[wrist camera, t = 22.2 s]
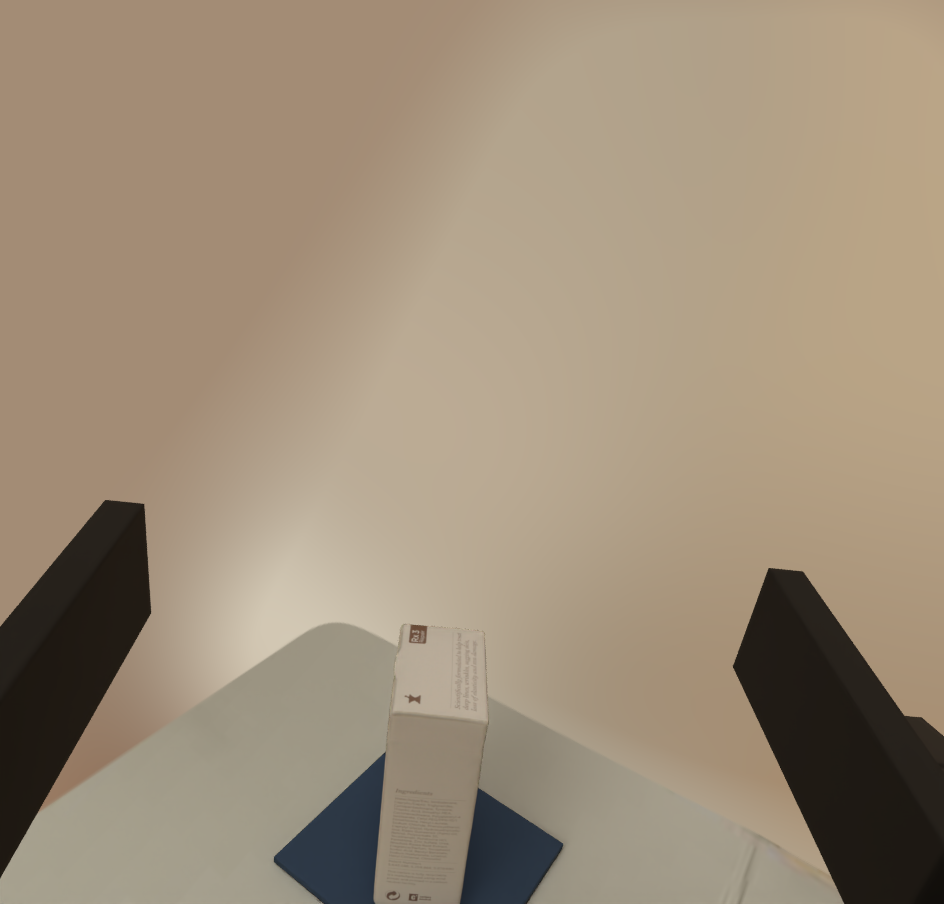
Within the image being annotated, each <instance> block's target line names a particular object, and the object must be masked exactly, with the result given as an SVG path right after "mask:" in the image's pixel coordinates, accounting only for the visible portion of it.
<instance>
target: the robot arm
mask: <svg viewBox="0 0 944 904" xmlns="http://www.w3.org/2000/svg"><path fill="white" fill-rule="evenodd" d="M148 573H149V572H148V557H147V541H146V524H145V509H144V504H140V503H130V502H120V501H109V500H105V501H104V502H103V503H102V505H101V506H100V507H99V508H98V510H97V511H96V512H95V513H94V514H93V516H92V517H91V518H90V519H89V520H88V521H87V523H86V524H85V525H84V526H83V528H82V529H81V530H80V531H79V532H78V533H77V535H76V536H75V537H74V538H73V540H72V541H71V542H70V543H69V544H68V546H67V547H66V548H65V549H64V550H63V552H62V553H61V554H60V555H59V556H58V558H57V559H56V560H55V561H54V562H53V564H52V565H51V566H50V567H49V568H48V570H47V571H46V572H45V573H44V575H43V576H42V577H41V578H40V579H39V581H38V582H37V583H36V584H35V585H34V587H33V588H32V589H31V590H30V591H29V593H28V594H27V595H26V596H25V597H24V599H23V600H22V601H21V602H20V603H19V605H18V606H17V607H16V608H15V609H14V611H13V612H12V613H11V614H10V615H9V617H8V618H7V619H6V620H5V622H4V623H3V624H2V625H1V626H0V878H1V876H2V874H3V872H4V871H5V869H6V867H7V865H8V864H9V862H10V860H11V858H12V857H13V855H14V853H15V851H16V850H17V848H18V846H19V844H20V843H21V841H22V839H23V837H24V836H25V834H26V832H27V830H28V829H29V827H30V825H31V823H32V821H33V820H34V818H35V816H36V814H37V813H38V811H39V809H40V807H41V806H42V804H43V802H44V800H45V799H46V797H47V795H48V793H49V792H50V790H51V788H52V786H53V785H54V783H55V781H56V779H57V778H58V776H59V774H60V772H61V770H62V768H63V767H64V765H65V763H66V762H67V760H68V758H69V756H70V755H71V753H72V751H73V749H74V748H75V746H76V744H77V742H78V741H79V739H80V737H81V735H82V734H83V732H84V730H85V728H86V726H87V725H88V723H89V721H90V720H91V718H92V716H93V714H94V712H95V711H96V709H97V707H98V705H99V704H100V702H101V700H102V698H103V697H104V695H105V693H106V691H107V690H108V688H109V686H110V684H111V683H112V681H113V679H114V677H115V676H116V674H117V672H118V670H119V669H120V667H121V665H122V663H123V662H124V660H125V658H126V656H127V654H128V653H129V651H130V649H131V647H132V646H133V644H134V642H135V640H136V639H137V637H138V635H139V633H140V632H141V630H142V628H143V626H144V625H145V623H146V621H147V619H148V618H149V616H150V614H151V604H150V589H149V574H148ZM733 668H734V670H735V672H736V674H737V677H738V679H739V681H740V683H741V685H742V687H743V689H744V691H745V693H746V696H747V698H748V700H749V702H750V704H751V706H752V708H753V711H754V713H755V715H756V717H757V719H758V721H759V723H760V725H761V728H762V730H763V732H764V734H765V735H766V738H767V740H768V742H769V745H770V747H771V749H772V751H773V753H774V755H775V757H776V759H777V761H778V764H779V766H780V768H781V770H782V772H783V774H784V777H785V779H786V781H787V783H788V785H789V787H790V789H791V791H792V794H793V796H794V798H795V800H796V802H797V804H798V806H799V808H800V810H801V813H802V815H803V817H804V819H805V821H806V823H807V825H808V828H809V830H810V832H811V834H812V836H813V838H814V840H815V842H816V844H817V847H818V848H819V851H820V853H821V855H822V857H823V859H824V862H825V864H826V866H827V868H828V870H829V872H830V874H831V877H832V879H833V881H834V883H835V885H836V887H837V889H838V891H839V894H840V896H841V898H842V900H843V902H844V904H944V736H943V735H942V734H940V733H939V732H938V731H937V730H936V729H935V728H933V727H932V726H931V725H930V724H929V723H927V722H926V721H925V720H924V719H923V718H921V717H910V716H904V715H903V713H902V712H901V711H900V709H899V708H898V707H897V705H896V703H895V702H894V701H893V699H892V698H891V697H890V695H889V693H888V692H887V691H886V689H885V688H884V686H883V685H882V684H881V682H880V681H879V679H878V678H877V676H876V675H875V673H874V672H873V671H872V669H871V668H870V666H869V665H868V664H867V662H866V661H865V659H864V658H863V656H862V655H861V654H860V652H859V651H858V649H857V648H856V646H855V645H854V644H853V642H852V641H851V639H850V638H849V637H848V635H847V634H846V632H845V631H844V629H843V628H842V626H841V625H840V624H839V622H838V621H837V619H836V618H835V617H834V615H833V614H832V612H831V611H830V609H829V608H828V607H827V605H826V604H825V602H824V601H823V599H822V598H821V597H820V595H819V594H818V592H817V591H816V589H815V588H814V587H813V585H812V584H811V582H810V581H809V579H808V578H807V577H806V575H805V574H804V572H802V571H793V570H782V569H773V568H769V569H768V572H767V574H766V577H765V580H764V583H763V586H762V588H761V591H760V594H759V596H758V599H757V602H756V605H755V607H754V610H753V613H752V616H751V619H750V621H749V624H748V626H747V629H746V632H745V635H744V637H743V640H742V643H741V646H740V649H739V651H738V654H737V657H736V660H735V663H734V665H733Z"/></svg>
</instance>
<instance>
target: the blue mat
mask: <svg viewBox="0 0 944 904" xmlns="http://www.w3.org/2000/svg"><path fill="white" fill-rule="evenodd" d="M385 757H386V752H385V753H384V754H383V755H382V756H381V757H380V758H379V759H378V760H376V761H375V762H374V763H373V764H372V765H371V766H370V767H369V768H368V769H367V770H366V771H365V772H364V773H363V774H362V775H361V776H359V777H358V778H357V779H356V780H355V781H354V782H353V783H352V784H351V785H350V786H349V787H348V788H347V789H346V790H345V791H344V792H342V793H341V794H340V795H339V796H338V797H337V798H336V799H335V800H334V801H333V802H332V803H331V804H330V805H329V806H328V807H326V808H325V809H324V810H323V811H322V812H321V813H320V814H319V815H318V816H317V817H316V818H315V819H314V820H313V821H312V822H311V823H309V824H308V825H307V826H306V827H305V828H304V829H303V830H302V831H301V832H300V833H299V834H298V835H297V836H296V837H295V838H294V839H292V840H291V841H290V842H289V843H288V844H287V845H286V846H285V847H284V848H283V849H282V850H281V851H280V852H279V853H278V854H277V855H275V856H274V862H275V863H276V864H277V865H279V866H280V867H281V868H282V869H283V870H285V871H286V872H287V873H288V874H289V875H291V876H292V877H293V878H294V879H295V880H297V881H298V882H299V883H300V884H301V885H303V886H304V887H305V888H306V889H307V890H309V891H310V892H311V893H312V894H313V895H315V896H316V897H317V898H318V899H319V900H321V901H322V902H323V903H324V904H375V902H374V883H375V871H376V860H377V849H378V838H379V826H380V815H381V803H382V792H383V781H384V769H385ZM562 847H563V843H561V842H560V841H558V840H557V839H555V838H554V837H552V836H551V835H549V834H548V833H546V832H545V831H543V830H541V829H540V828H538V827H537V826H535V825H534V824H532V823H531V822H529V821H528V820H526V819H525V818H523V817H522V816H520V815H519V814H517V813H516V812H514V811H513V810H511V809H509V808H508V807H506V806H505V805H503V804H502V803H500V802H499V801H497V800H496V799H494V798H493V797H491V796H490V795H488V794H487V793H485V792H484V791H482V790H481V789H479V788H478V791H477V798H476V804H475V810H474V817H473V823H472V829H471V835H470V841H469V847H468V854H467V860H466V867H465V874H464V881H463V888H462V894H461V900H460V904H526V903H527V901H528V900H529V898H530V897H531V895H532V894H533V892H534V891H535V889H536V888H537V886H538V885H539V883H540V882H541V880H542V879H543V877H544V875H545V874H546V872H547V871H548V869H549V868H550V866H551V865H552V863H553V862H554V860H555V859H556V857H557V856H558V854H559V853H560V851H561V850H562Z"/></svg>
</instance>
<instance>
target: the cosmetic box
mask: <svg viewBox="0 0 944 904" xmlns="http://www.w3.org/2000/svg"><path fill="white" fill-rule="evenodd" d="M484 636H485V633H484V632H483V631H476V630H469V629H458V628H446V627H435V626H421V625H410V624H403V625H402V626H401V630H400V636H399V644H398V651H397V657H396V660H395V665H394V673H395V674H394V681H393V688H392V696H391V705H390V713H389V723H388V732H387V743H386V757H385V769H384V781H383V792H382V803H381V815H380V826H379V838H378V849H377V860H376V871H375V883H374V902H375V904H460V900H461V894H462V888H463V881H464V874H465V867H466V860H467V854H468V847H469V841H470V835H471V829H472V823H473V817H474V810H475V804H476V798H477V791H478V784H479V778H480V771H481V763H482V757H483V748H484V742H485V738H486V732H487V727H488V724H489V716H488V697H487V675H486V652H485V637H484Z"/></svg>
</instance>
